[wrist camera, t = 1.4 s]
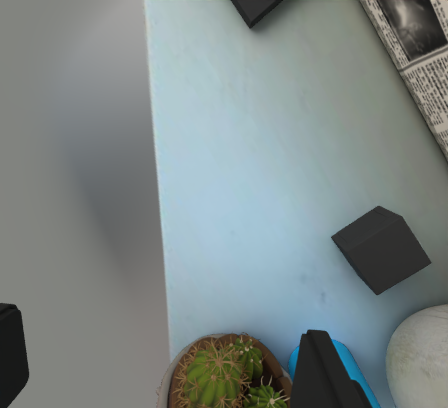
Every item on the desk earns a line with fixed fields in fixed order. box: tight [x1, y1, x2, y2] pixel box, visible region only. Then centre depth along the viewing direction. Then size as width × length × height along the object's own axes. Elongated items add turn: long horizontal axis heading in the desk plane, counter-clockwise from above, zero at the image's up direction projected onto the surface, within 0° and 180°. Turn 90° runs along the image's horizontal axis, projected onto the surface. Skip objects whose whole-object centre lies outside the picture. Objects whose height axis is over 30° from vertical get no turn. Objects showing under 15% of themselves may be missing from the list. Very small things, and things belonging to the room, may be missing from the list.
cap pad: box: [331, 206, 431, 295], centre depth 27 cm, size 6×6×4 cm
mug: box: [288, 339, 381, 408], centre depth 30 cm, size 12×8×8 cm
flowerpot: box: [156, 332, 293, 408], centre depth 26 cm, size 15×15×20 cm
